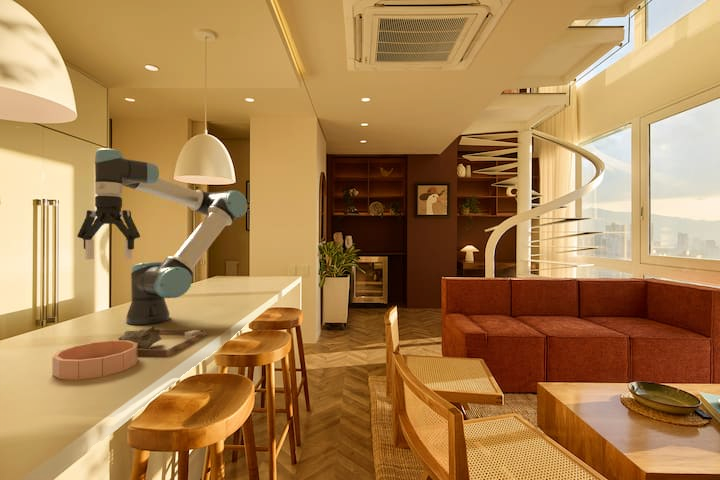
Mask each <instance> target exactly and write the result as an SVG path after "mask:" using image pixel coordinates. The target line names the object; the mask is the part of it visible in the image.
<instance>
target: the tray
mask: <svg viewBox="0 0 720 480" xmlns="http://www.w3.org/2000/svg"><path fill="white" fill-rule="evenodd" d="M157 329H158V330H160V332H159V333H158V335H172V336H174V335H176V336H177V335H178V336H179V335H180V336H185V332H188V331H192V330H193V329H170V328H169V329H167V328H163V329H162V328H157ZM198 330H199V331H201V332H200V333H198V334H197V335H195V336H193V337H191V338H189V339H185V340H184V341H181V342H179V343H178V344H174V345H173V346H172V347H170V348H168V349H167V348H166V349H160V348H157V349H156V348H155V349H154V348H153V349H152V348H147V349H138V357H165V358H166V357H170V356H171V355H174V354H175V353H177V352H179V351H181V350H182V349H185V348H186V347H188V346H189V345H192V344H194V343H195V342H197V341H199V340H201V339H202V338H204V337H206V336H207V335H208V334H207V333H208V332H207V329H202V330H201V329H198ZM205 335H206V336H205ZM200 338H201V339H200ZM198 339H199V340H198ZM193 342H194V343H193Z"/></svg>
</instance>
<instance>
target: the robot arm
mask: <svg viewBox="0 0 720 480" xmlns="http://www.w3.org/2000/svg"><path fill="white" fill-rule="evenodd" d="M94 172H95V173H94V176H95V180H94V181H95V182H94V184H95V185H94V186H95V187H94V191H95V192H94V194H95V195H96V196H95V197H94V207H95V208H96V209H95V210H91V209H90V210H89V209H88V210H86V215H85V219H84V220H83V222H82V224H81V227H80V229H79V231H78V233H77V238H78V239H79V238H80V239H82V241H83V250H85V253H84V254H85V257H84V258H85V260H94V259H95V240H94V239H93V237H94V236H95V235H96V234H97V233H98V231H99V230H100V229H101V227H102V226H105V225H109V224H112V225H115V226H116V227H117V228H118V230H119V231H120V232H121V233H122V234H123V236H124V237H125V239H124V248H123V250H124V251H123V253H124V257H123V258H124V260H127V261H128V260H132V259H133V250H134V249H135V239H139V238H140V237H141V235H140V233H139V231H138V228H137V226H136V224H135V222H134V220H133V218H132V212H131V210H125V209H122V207H123V198H122V196H123V187H126V188H129V189H133V190H136V191H139V192H143V193H145V194H147V195H152V196H155V197H158V198H159V199H164V200H167V201H170V202H173V203H176V204H179V205H183V206H186V207H188V208H189V209H190V210H191V211H193V212H195V213H196V212H197V213H200V214H202V215H205V217H204V218H203V220H202V221H201V222H200V223H199V224H198V225H197V227H196V228H195V229H194V230H193V232H192V233H191V234H190V235H189V237H188V238H187V239H186V240H185V241H184V243H183V244H182V245H181V246H180V248H179V249H178V250H177V251H176V253H174V255H172V256H167V257H166V258H165V259H164V260H163V261H152V262H142V263H136V264H133V265H132V267H131V272H130V275H131V277H130V279H131V283H130V285H131V290H130V291H131V304H130V306H129V308H128V311H127V314H126V316H125V317H126V319H125V320H126V321H125V323H126V324H128V325H149V324H150V325H152V324H159V323H161V322H167V321H168V320H169V319H170V314H171V313H170V311H169V307H168V305H167V303H166V299H176V298H180V297H181V296H184V295H185V294H186V293H187V292H188V291H189V290H190V288H191V286H192V277H193V275H195V274H194V273H195V271H194V268H195V267H196V265H197V264H198V263H199V261H200V259H202V257H203V256H204V254H205V253H206V252H207V251H208V250H209V248H210V247H211V245H212V244H213V242H214V241H216V238H218V236H220V234H221V232H222V231H223V230H224V228H225V227H226V226H232V224H233V223H234V221H235V220H237V218H241V217H243V216H245V214H246V213H247V211H248V201H247V198H246V196H245V195H244V194H243V192H241V191H239V190H231V189H230V190H225V191H214V192H212V191H211V192H208V191H203V190H200V189H196V190H194V189H191V188H190V187H189V188H188V187H186V186H183V185H179V184H177V183H175V182H172V181H169V180H166V179H163V178H161V177H160V170H159V167H158V165H156V164H155V163H152V162H148V161H142V160H134V159H129V158H125V157H123V153H122V152H121V151H120V150H117V149H113V148H98V149H97V150H96V151H95V155H94ZM122 218H123V220H122ZM124 222H125V223H124Z"/></svg>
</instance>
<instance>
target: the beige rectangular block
mask: <svg viewBox="0 0 720 480" xmlns="http://www.w3.org/2000/svg"><path fill="white" fill-rule="evenodd" d="M191 330H192V331H188V332H185V335H184V339H185V340H187V339H189V338H191V337H193V336H195V335H197V334H198V333H200V332H201V331H199V330H200V329H191Z"/></svg>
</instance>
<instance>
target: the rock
mask: <svg viewBox="0 0 720 480" xmlns="http://www.w3.org/2000/svg"><path fill="white" fill-rule="evenodd" d="M158 329H159V328H155V326H151V327H148V328H147V327H146V328H143V329H140V330H126V331H124V334H123V335H121V336H120V337H119V338H117V340H128V341H132V342H135V343H138V349H150V347H152V345H154V344H156V343H157V342H160V341H161V340H162V339H163V337H161V334H158V333H159V332H160V330H158Z"/></svg>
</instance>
